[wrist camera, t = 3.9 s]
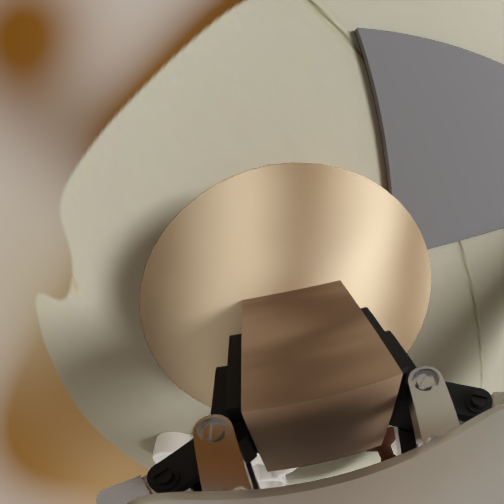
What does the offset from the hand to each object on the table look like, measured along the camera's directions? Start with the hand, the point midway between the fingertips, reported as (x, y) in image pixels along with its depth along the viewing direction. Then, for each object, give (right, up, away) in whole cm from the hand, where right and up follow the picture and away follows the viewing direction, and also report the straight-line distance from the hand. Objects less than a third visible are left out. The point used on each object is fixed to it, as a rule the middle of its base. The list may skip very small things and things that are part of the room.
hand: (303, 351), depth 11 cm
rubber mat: (+15, +13, +4) cm, 20 cm away
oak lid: (0, +1, +2) cm, 2 cm away
